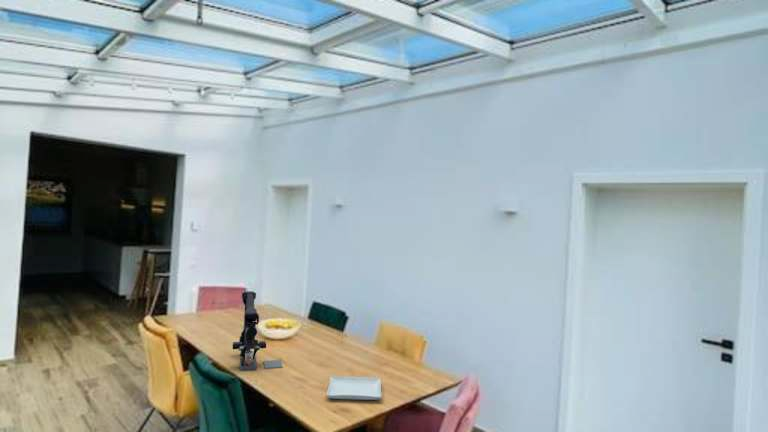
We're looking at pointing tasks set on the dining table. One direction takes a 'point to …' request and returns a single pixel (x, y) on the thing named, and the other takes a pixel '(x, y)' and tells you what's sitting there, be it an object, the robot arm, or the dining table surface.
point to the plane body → (248, 364)
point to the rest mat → (273, 364)
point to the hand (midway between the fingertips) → (248, 359)
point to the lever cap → (248, 354)
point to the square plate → (354, 388)
